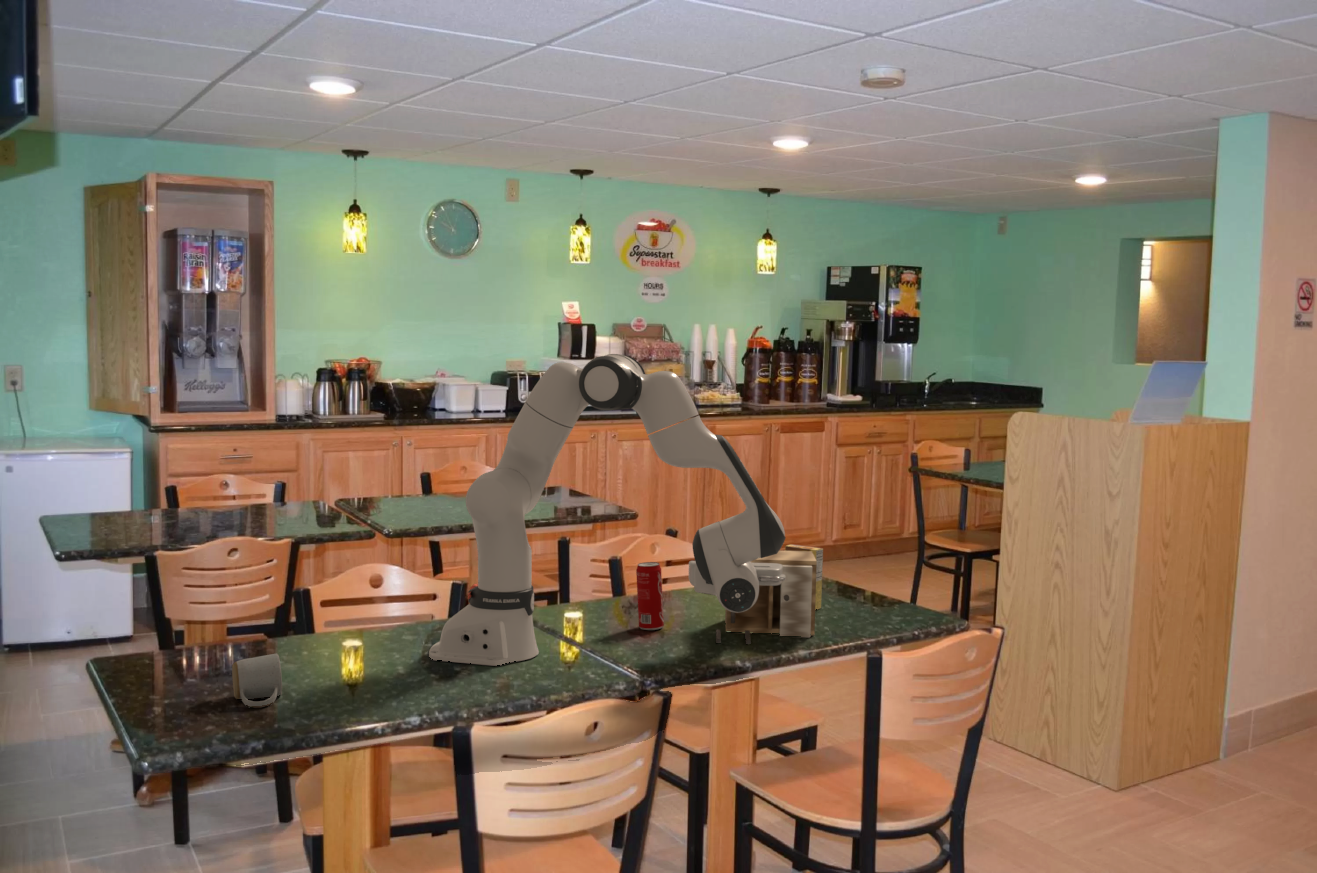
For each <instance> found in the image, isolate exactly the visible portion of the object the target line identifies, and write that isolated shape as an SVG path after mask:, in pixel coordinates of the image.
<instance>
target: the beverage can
mask: <svg viewBox="0 0 1317 873" xmlns="http://www.w3.org/2000/svg"><path fill="white" fill-rule="evenodd" d="M635 572H636V573H635V574H636V592H637V593H636V594H637V595H636V596H637V614H638V617H637V618H638V627H639V628H640V630H645V631H655V630H656V631H657V630H659V629H662V628H663V627H664V625H665V623H664V622H665V621H664V620H665V619H664V603H663V602H664V600H663V599H664V598H663V580H662V579H663V578H662V576H663V574H662V567H661V565H660V563H659V562H657V561H645V562H639V563H638V564H637V567H636V570H635Z"/></svg>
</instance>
